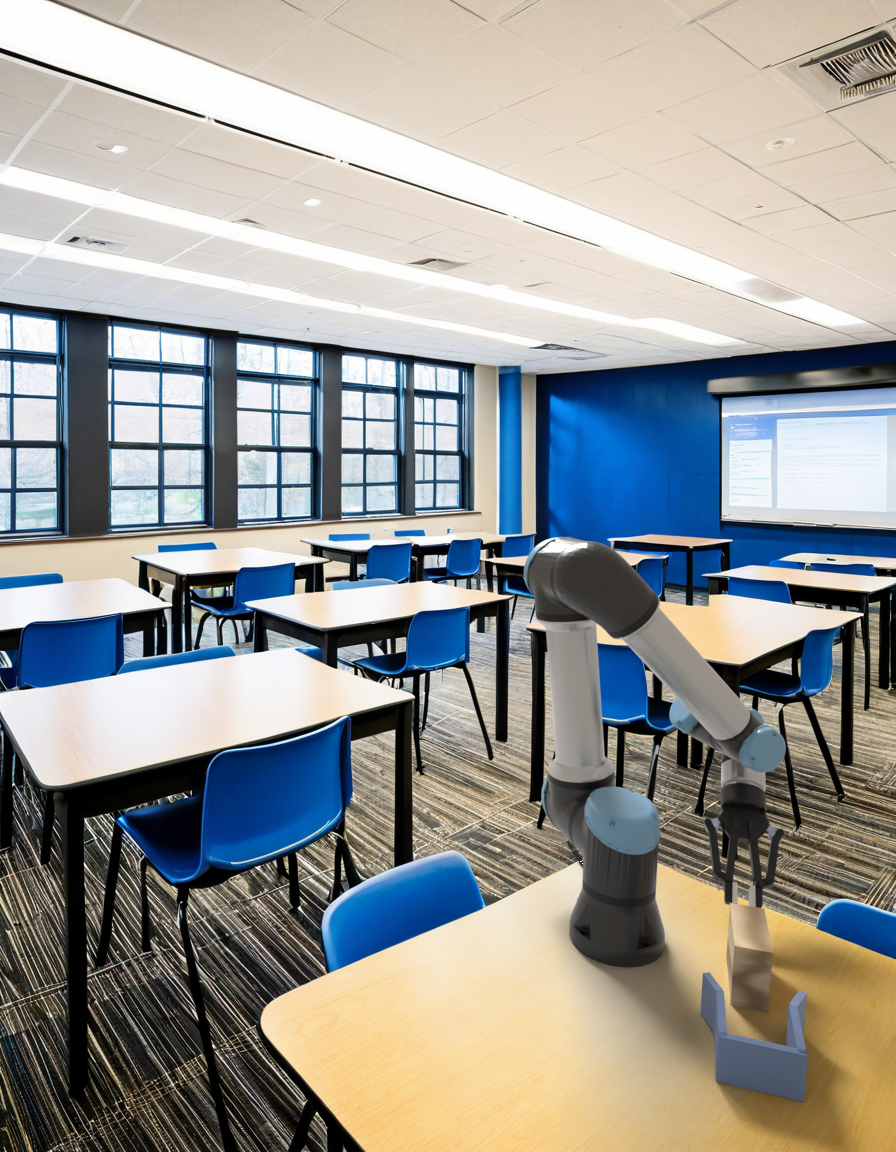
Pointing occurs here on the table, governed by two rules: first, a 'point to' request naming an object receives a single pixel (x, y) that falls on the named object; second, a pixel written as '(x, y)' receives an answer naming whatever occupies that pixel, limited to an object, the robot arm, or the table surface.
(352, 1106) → the table surface
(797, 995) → the blue u-shaped bracket
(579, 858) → the fountain pen
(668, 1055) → the table surface
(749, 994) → the block
